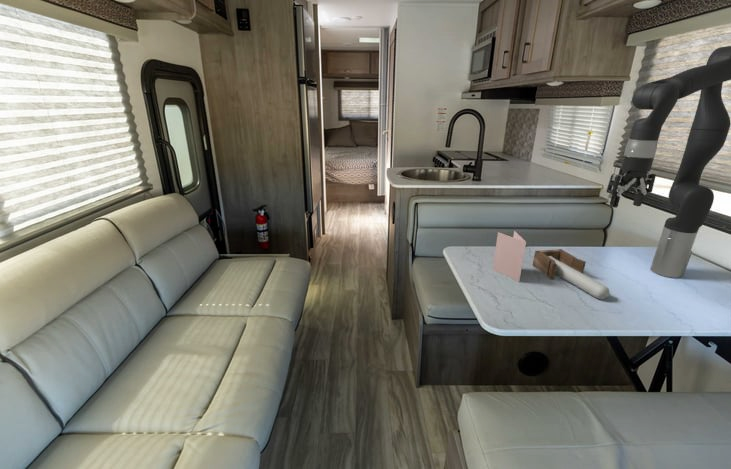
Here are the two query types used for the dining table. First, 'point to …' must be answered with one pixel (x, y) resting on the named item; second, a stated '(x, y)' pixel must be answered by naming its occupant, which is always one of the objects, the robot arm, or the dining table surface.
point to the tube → (581, 280)
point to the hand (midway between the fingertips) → (625, 206)
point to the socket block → (549, 265)
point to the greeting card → (509, 255)
